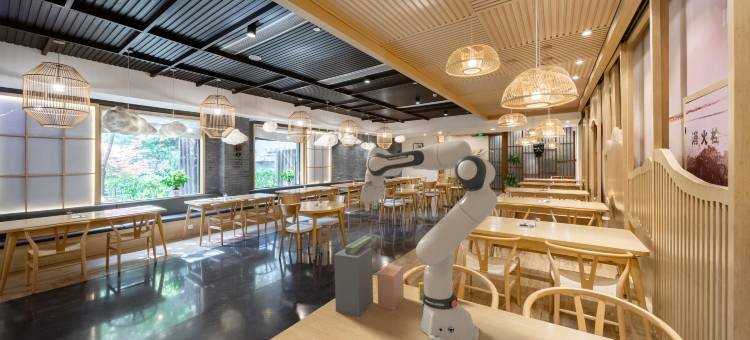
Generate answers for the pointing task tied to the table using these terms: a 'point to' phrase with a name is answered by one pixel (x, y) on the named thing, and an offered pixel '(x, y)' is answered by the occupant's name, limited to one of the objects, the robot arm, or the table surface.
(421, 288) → the candy box
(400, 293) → the terracotta block
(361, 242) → the sage bar
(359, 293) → the tall grey pillar
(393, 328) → the table surface
